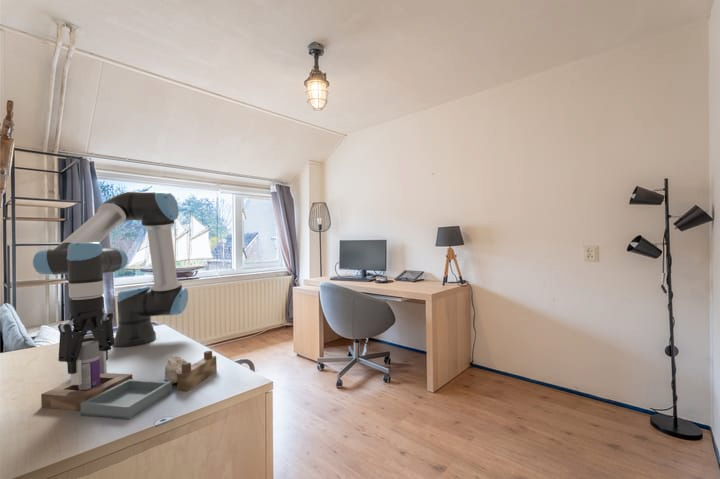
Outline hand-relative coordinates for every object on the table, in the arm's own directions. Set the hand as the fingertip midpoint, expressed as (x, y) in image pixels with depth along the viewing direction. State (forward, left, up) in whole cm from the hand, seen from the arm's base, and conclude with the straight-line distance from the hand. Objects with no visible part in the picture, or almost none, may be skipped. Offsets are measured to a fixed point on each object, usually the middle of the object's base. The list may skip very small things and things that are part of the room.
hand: (89, 378), depth 92 cm
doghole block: (0, 0, -5) cm, 5 cm away
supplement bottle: (-14, -17, -5) cm, 23 cm away
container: (0, 0, -5) cm, 5 cm away
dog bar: (-13, +24, -5) cm, 28 cm away
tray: (+2, +15, -5) cm, 16 cm away
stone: (-13, +18, -5) cm, 23 cm away
